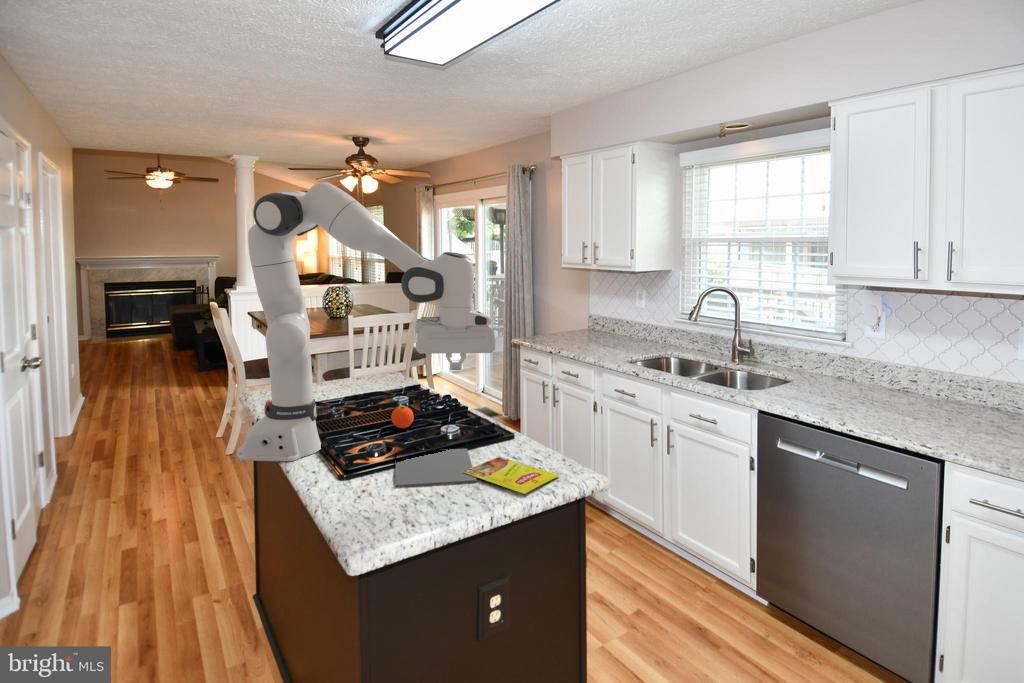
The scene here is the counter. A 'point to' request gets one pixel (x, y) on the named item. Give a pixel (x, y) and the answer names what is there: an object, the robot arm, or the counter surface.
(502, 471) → the food package
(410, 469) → the mat
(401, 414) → the clementine
